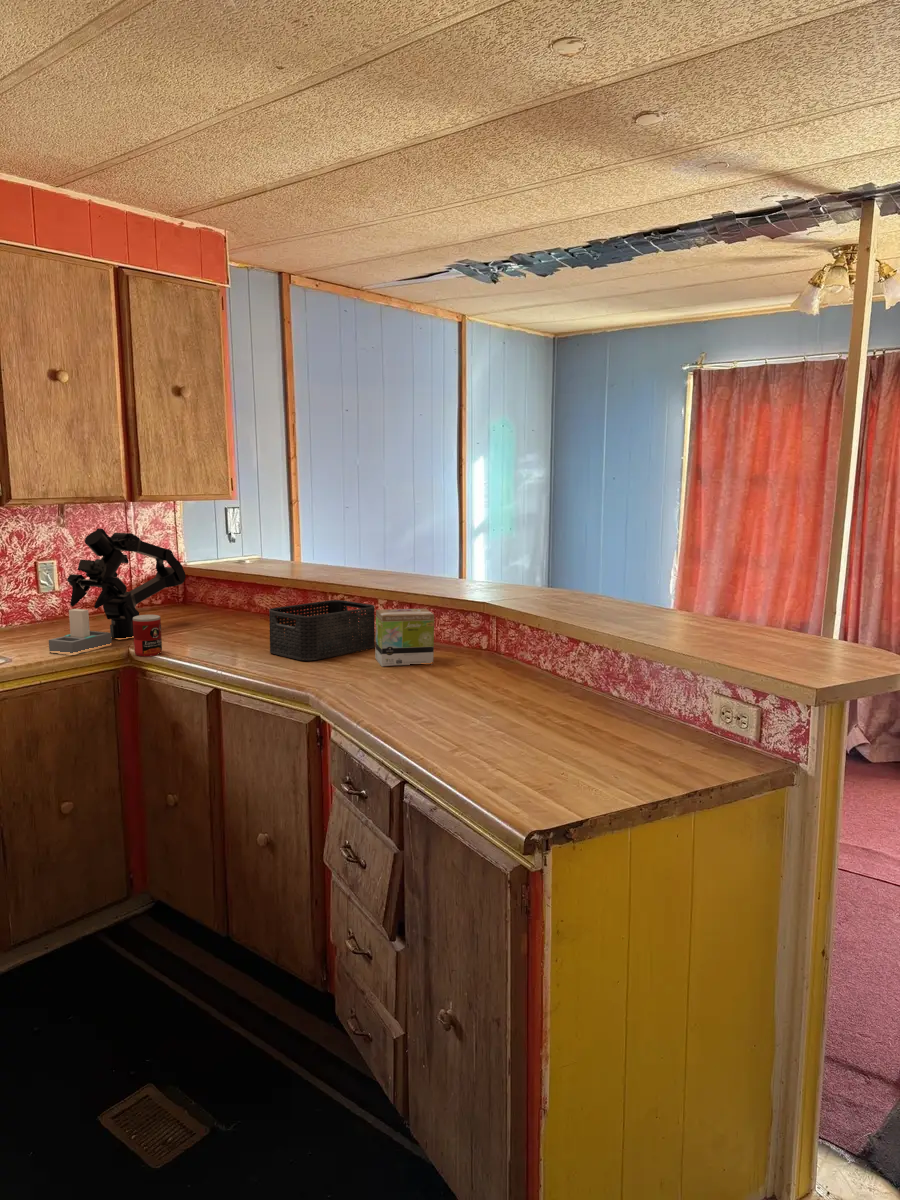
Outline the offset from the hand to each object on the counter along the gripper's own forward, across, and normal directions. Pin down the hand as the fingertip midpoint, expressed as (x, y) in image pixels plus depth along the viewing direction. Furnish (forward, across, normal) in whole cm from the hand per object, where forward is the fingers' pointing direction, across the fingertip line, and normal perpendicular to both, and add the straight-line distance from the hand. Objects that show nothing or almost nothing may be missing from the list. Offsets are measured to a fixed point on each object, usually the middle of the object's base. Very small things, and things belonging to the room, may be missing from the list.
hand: (83, 606), depth 249 cm
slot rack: (+10, 0, +8) cm, 13 cm away
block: (+10, 0, +8) cm, 13 cm away
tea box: (-6, +96, +24) cm, 99 cm away
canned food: (+8, +22, +10) cm, 26 cm away
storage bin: (-9, +67, +28) cm, 73 cm away
